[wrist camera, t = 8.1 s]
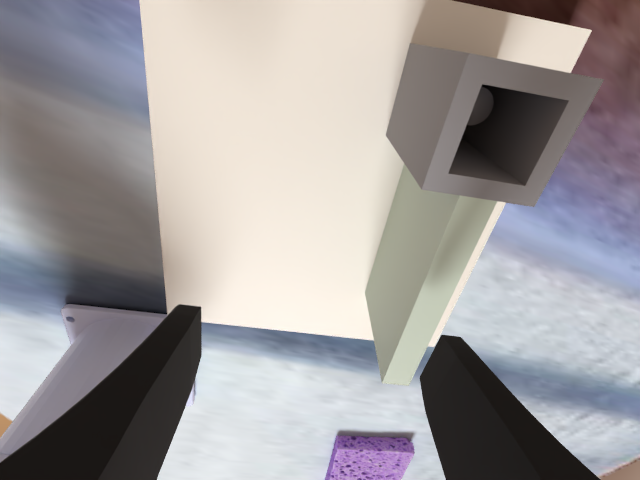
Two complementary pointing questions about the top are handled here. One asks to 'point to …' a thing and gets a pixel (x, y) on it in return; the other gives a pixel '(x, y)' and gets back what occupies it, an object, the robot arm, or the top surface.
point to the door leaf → (459, 181)
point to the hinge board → (298, 144)
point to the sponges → (369, 458)
